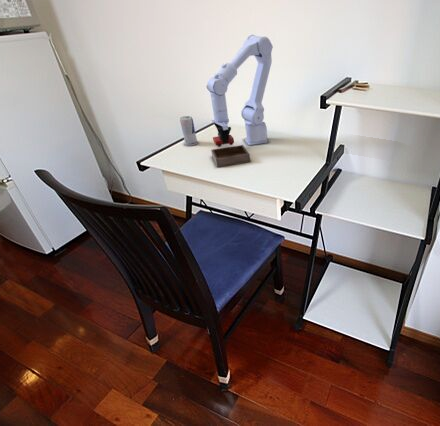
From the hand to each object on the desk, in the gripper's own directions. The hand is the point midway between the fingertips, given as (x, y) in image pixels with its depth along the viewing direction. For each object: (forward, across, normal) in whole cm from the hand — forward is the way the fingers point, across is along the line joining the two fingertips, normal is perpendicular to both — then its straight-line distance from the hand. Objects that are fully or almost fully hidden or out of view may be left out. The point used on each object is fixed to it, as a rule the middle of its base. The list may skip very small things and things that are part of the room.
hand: (224, 140), depth 133 cm
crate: (+4, +11, 0) cm, 12 cm away
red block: (-1, -3, 0) cm, 3 cm away
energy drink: (+5, -13, -13) cm, 19 cm away
